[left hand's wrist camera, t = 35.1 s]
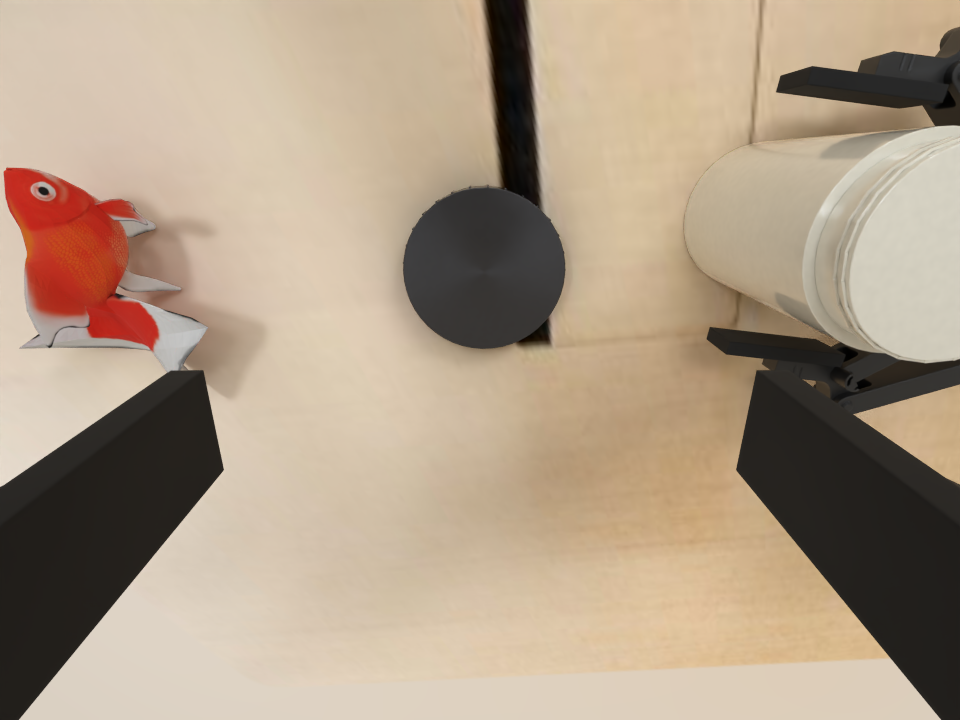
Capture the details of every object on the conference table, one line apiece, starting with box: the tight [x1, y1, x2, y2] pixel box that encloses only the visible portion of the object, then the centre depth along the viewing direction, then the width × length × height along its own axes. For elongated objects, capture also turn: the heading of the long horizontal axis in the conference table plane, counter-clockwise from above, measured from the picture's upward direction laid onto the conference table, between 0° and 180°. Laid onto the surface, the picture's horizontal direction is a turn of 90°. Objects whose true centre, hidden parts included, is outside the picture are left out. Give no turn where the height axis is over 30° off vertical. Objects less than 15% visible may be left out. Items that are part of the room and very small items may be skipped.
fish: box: [4, 168, 208, 373], centre depth 32 cm, size 11×16×10 cm
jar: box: [684, 125, 960, 363], centre depth 26 cm, size 9×9×16 cm
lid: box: [403, 185, 565, 349], centre depth 34 cm, size 10×10×2 cm
